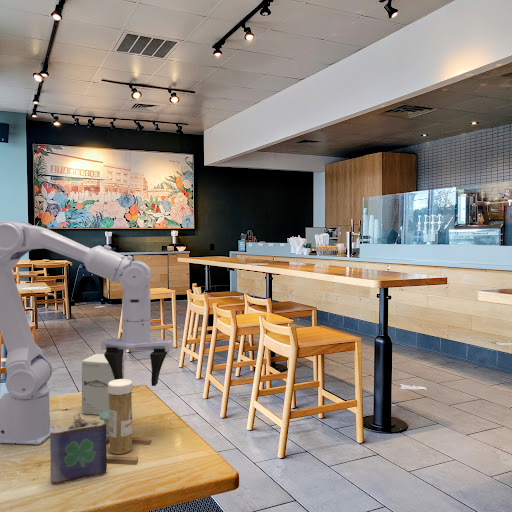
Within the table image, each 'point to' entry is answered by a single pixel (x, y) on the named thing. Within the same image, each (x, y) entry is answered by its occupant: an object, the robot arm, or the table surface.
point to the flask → (78, 451)
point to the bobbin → (105, 420)
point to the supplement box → (96, 384)
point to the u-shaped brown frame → (127, 459)
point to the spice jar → (120, 416)
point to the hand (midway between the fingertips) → (136, 383)
